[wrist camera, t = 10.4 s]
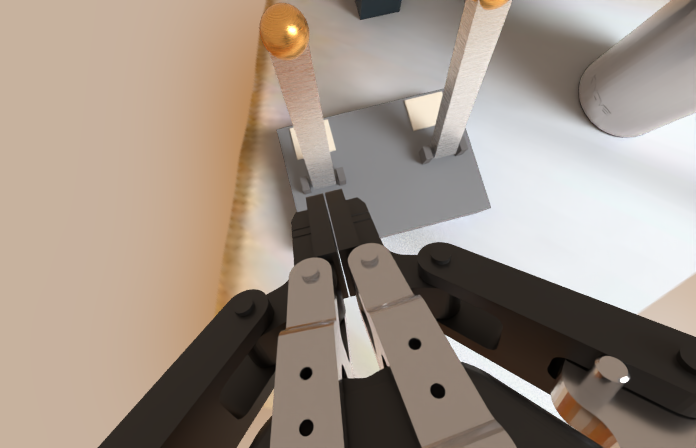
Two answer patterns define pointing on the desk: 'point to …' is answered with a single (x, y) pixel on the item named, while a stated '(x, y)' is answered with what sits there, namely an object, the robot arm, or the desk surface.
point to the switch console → (392, 166)
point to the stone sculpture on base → (376, 7)
